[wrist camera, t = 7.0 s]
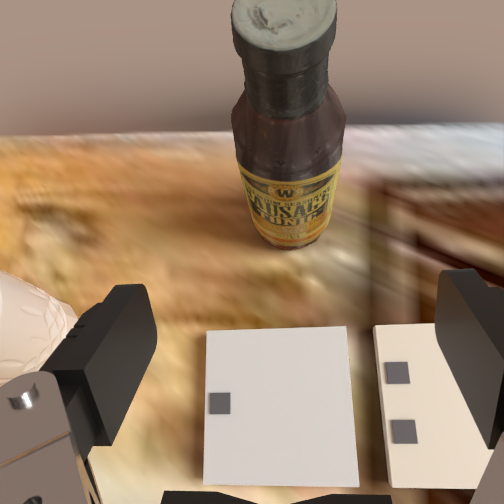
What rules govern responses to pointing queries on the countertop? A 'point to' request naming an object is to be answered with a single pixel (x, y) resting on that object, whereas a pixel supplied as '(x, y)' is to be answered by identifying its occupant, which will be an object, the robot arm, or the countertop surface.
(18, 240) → the countertop surface
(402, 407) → the tile two
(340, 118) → the sauce bottle
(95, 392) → the robot arm
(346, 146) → the countertop surface
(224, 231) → the countertop surface
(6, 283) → the white cup
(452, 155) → the countertop surface
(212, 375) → the tile one
